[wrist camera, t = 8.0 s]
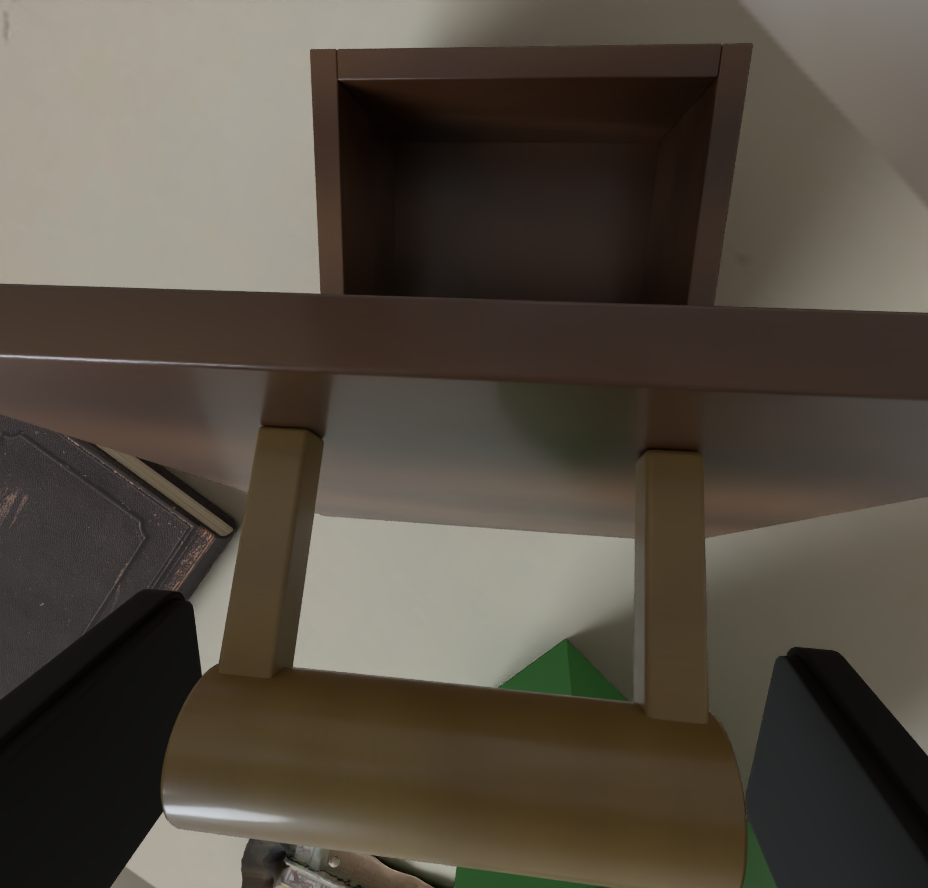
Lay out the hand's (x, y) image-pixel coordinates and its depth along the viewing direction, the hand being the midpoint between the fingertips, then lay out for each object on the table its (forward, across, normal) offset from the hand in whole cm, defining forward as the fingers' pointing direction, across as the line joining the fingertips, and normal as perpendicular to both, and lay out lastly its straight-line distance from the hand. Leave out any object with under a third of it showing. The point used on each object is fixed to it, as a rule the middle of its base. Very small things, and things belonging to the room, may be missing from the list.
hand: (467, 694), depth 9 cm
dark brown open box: (+21, 0, -6) cm, 22 cm away
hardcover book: (+22, +29, +13) cm, 38 cm away
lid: (+5, 0, -2) cm, 6 cm away
